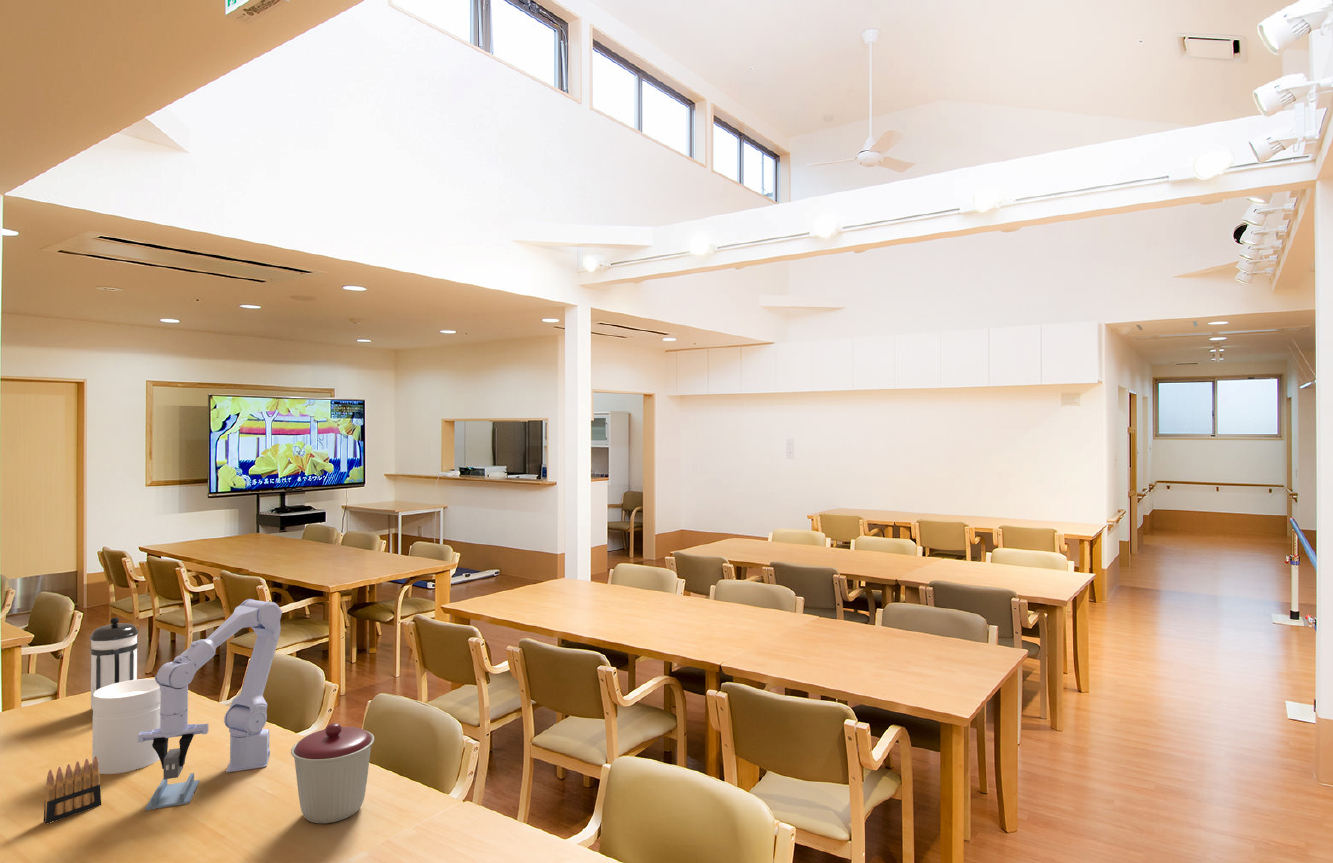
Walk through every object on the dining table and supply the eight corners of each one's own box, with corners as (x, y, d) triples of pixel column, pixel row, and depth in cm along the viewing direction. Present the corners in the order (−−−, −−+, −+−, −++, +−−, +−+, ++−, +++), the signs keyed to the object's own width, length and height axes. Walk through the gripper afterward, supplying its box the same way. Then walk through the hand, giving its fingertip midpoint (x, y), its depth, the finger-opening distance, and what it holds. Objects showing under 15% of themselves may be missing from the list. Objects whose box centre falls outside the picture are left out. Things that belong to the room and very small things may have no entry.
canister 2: (323, 841, 163) (324, 745, 163) (273, 820, 172) (274, 729, 172) (390, 805, 179) (390, 718, 179) (341, 788, 187) (341, 705, 188)
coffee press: (69, 717, 234) (70, 622, 234) (114, 699, 250) (115, 611, 250) (116, 721, 231) (117, 625, 231) (159, 703, 247) (160, 613, 247)
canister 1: (94, 780, 192) (95, 703, 192) (90, 759, 204) (90, 687, 204) (168, 762, 202) (168, 689, 202) (159, 743, 214) (160, 675, 214)
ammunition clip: (46, 824, 170) (46, 772, 170) (43, 822, 171) (43, 770, 171) (101, 805, 179) (101, 755, 179) (98, 803, 180) (98, 753, 180)
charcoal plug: (183, 767, 187) (183, 747, 187) (177, 779, 180) (177, 758, 180) (169, 769, 185) (169, 749, 185) (162, 781, 179) (162, 760, 179)
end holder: (199, 782, 190) (199, 772, 190) (189, 803, 179) (189, 792, 179) (158, 788, 187) (158, 778, 187) (145, 810, 176) (145, 799, 176)
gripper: (134, 721, 177) (134, 778, 177) (204, 712, 182) (204, 768, 182) (142, 711, 183) (142, 766, 183) (210, 703, 189) (209, 756, 189)
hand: (173, 766), depth 183 cm, fingers closed on charcoal plug, 3 cm apart
